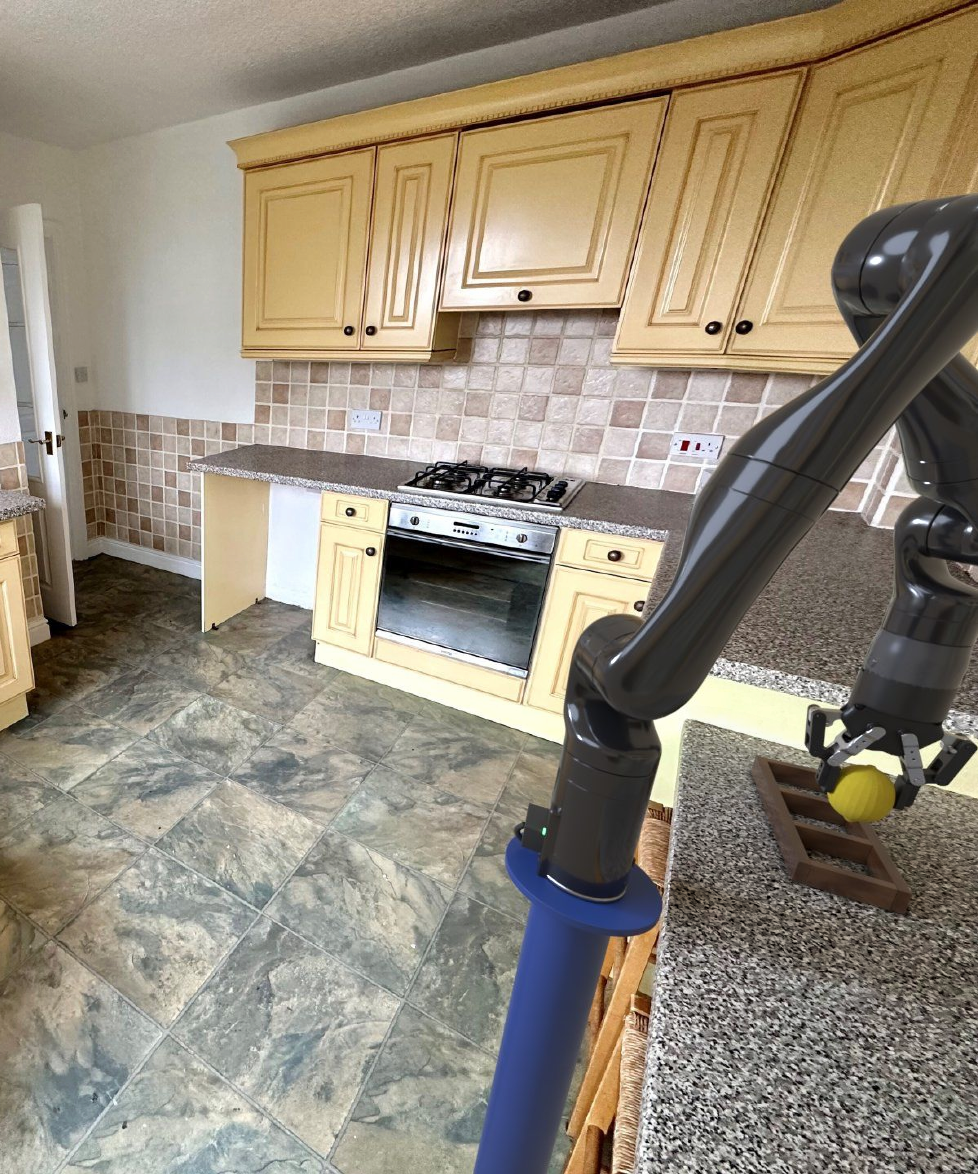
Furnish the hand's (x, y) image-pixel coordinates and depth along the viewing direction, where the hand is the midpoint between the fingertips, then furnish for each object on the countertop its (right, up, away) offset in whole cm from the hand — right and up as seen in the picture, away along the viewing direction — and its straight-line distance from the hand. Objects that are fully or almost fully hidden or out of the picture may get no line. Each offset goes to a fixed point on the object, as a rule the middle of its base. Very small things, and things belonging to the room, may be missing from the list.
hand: (858, 796), depth 76 cm
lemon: (0, -4, +1) cm, 4 cm away
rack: (+5, -8, +10) cm, 14 cm away
